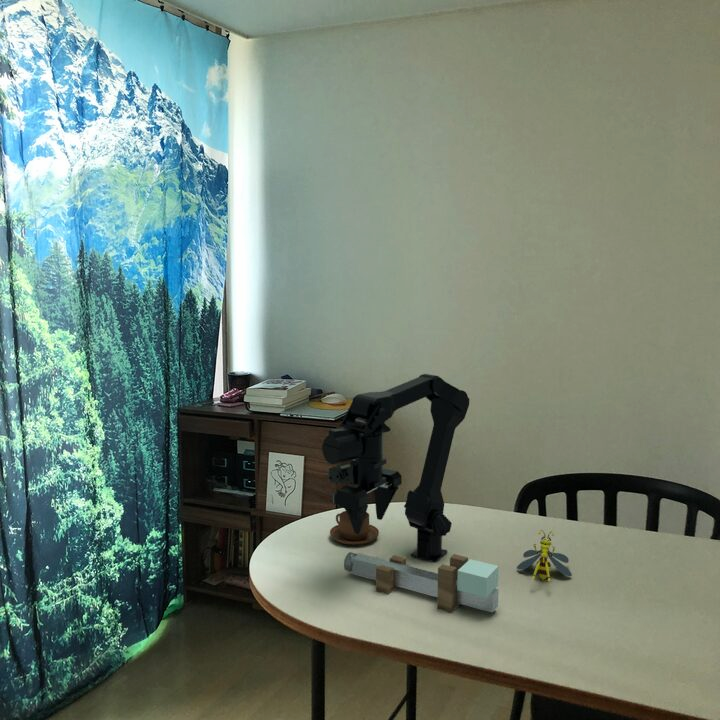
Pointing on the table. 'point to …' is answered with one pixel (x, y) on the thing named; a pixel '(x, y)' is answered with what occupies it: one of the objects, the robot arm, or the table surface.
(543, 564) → the toy
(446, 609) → the bearing
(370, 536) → the cup and saucer
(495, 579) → the block
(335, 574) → the table surface
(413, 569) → the shaft
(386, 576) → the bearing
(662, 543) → the table surface
